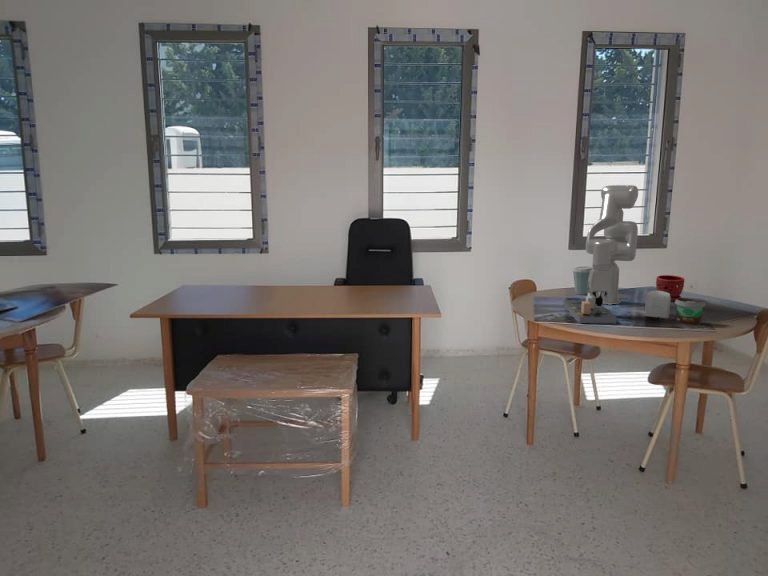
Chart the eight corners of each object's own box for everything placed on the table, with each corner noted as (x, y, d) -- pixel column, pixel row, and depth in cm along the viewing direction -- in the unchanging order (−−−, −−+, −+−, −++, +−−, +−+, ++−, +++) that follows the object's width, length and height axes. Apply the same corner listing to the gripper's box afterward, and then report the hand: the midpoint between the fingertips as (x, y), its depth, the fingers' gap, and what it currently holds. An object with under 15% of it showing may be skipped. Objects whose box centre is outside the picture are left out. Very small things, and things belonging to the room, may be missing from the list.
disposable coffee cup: (575, 295, 313) (576, 268, 310) (568, 291, 324) (569, 265, 321) (594, 295, 313) (595, 268, 310) (587, 291, 324) (588, 265, 321)
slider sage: (591, 306, 274) (592, 296, 273) (594, 308, 269) (594, 298, 268) (585, 306, 274) (585, 296, 273) (587, 308, 270) (588, 298, 269)
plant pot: (649, 298, 302) (651, 276, 300) (666, 296, 308) (667, 274, 306) (671, 303, 291) (673, 280, 289) (688, 300, 297) (690, 277, 294)
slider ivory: (593, 301, 284) (593, 291, 283) (595, 303, 280) (596, 293, 279) (587, 301, 284) (587, 291, 283) (589, 303, 280) (589, 293, 279)
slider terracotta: (587, 311, 263) (588, 301, 262) (590, 314, 259) (590, 303, 258) (581, 311, 264) (581, 301, 263) (583, 314, 259) (584, 303, 258)
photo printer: (669, 317, 264) (671, 291, 262) (668, 319, 261) (670, 292, 258) (645, 314, 270) (647, 289, 268) (644, 316, 267) (645, 290, 264)
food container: (674, 323, 253) (676, 301, 251) (673, 320, 259) (674, 298, 257) (706, 325, 249) (708, 303, 247) (703, 322, 254) (705, 300, 252)
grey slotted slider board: (596, 306, 288) (596, 300, 288) (616, 323, 255) (616, 317, 254) (563, 306, 290) (563, 300, 289) (579, 323, 257) (579, 316, 256)
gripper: (614, 266, 270) (612, 303, 274) (582, 266, 272) (580, 303, 275) (619, 268, 263) (617, 307, 267) (586, 268, 264) (584, 307, 268)
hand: (598, 305), depth 271 cm, fingers closed
